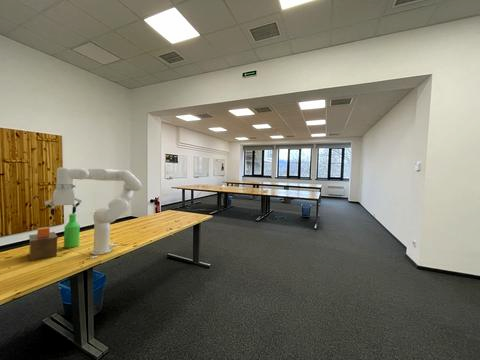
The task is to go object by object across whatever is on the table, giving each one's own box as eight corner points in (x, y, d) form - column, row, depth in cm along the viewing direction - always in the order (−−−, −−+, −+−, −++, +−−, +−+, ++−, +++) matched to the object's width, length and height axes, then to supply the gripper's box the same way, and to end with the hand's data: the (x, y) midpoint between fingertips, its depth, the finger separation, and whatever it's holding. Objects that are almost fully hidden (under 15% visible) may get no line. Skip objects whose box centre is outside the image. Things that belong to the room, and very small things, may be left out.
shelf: (54, 249, 142) (54, 231, 142) (57, 256, 131) (57, 236, 131) (28, 254, 132) (29, 235, 132) (29, 261, 122) (30, 240, 122)
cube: (48, 234, 135) (48, 226, 135) (49, 236, 132) (49, 228, 132) (37, 235, 131) (37, 227, 131) (37, 237, 128) (38, 229, 128)
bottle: (66, 245, 151) (67, 213, 151) (80, 244, 155) (81, 212, 155) (62, 249, 143) (63, 215, 143) (77, 247, 147) (78, 214, 147)
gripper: (80, 186, 131) (79, 212, 132) (44, 186, 118) (43, 214, 118) (83, 187, 127) (82, 213, 127) (45, 187, 113) (44, 216, 114)
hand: (63, 214), depth 123 cm, fingers open, 9 cm apart
